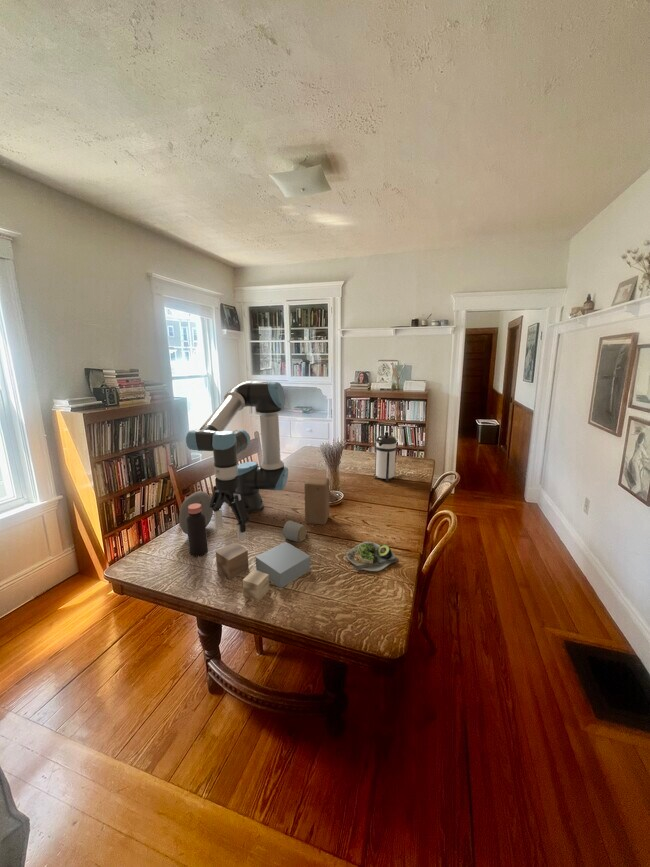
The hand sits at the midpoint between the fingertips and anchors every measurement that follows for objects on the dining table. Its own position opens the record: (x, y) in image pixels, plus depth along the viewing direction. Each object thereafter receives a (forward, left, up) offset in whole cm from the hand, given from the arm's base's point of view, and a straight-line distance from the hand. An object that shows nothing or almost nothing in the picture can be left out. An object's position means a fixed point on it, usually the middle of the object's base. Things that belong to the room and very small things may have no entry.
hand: (230, 533), depth 121 cm
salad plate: (+35, +40, -16) cm, 55 cm away
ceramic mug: (+2, +31, -15) cm, 35 cm away
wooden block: (-2, +49, -15) cm, 52 cm away
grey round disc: (-34, +6, -15) cm, 38 cm away
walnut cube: (0, 0, -15) cm, 15 cm away
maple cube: (+16, -2, -15) cm, 22 cm away
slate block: (+14, +12, -15) cm, 24 cm away
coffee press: (-6, +119, -15) cm, 120 cm away
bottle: (-20, -2, -15) cm, 25 cm away
